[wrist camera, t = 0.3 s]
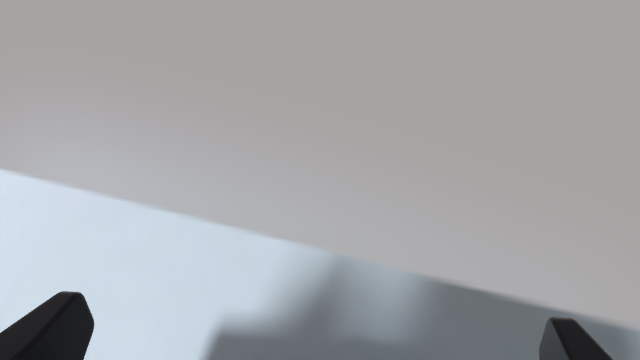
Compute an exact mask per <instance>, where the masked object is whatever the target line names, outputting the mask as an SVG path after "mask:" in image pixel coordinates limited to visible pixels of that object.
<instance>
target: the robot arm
mask: <svg viewBox="0 0 640 360" xmlns="http://www.w3.org/2000/svg"><path fill="white" fill-rule="evenodd" d="M93 329H94V319H93V317H92V314H91V312H90V309H89V307H88V305H87V302H86V300H85V297H84V296H83V295H82V294H81V293H79V292H66V291H63V292H59V293H57V294H56V295H54V296H53V297H51V298H50V299H49V300H47V301H46V302H44V303H43V304H41V305H40V306H38V307H37V308H36V309H34V310H33V311H31V312H30V313H28V314H27V315H25V316H24V317H23V318H21V319H20V320H18V321H17V322H15V323H14V324H12V325H11V326H10V327H8V328H7V329H5V330H4V331H2V332H1V333H0V360H83V359H84V356H85V353H86V351H87V348H88V345H89V342H90V339H91V336H92V333H93ZM539 357H540V360H613V359H612V358H611V357H610V356H609V355H608V354H607V353H606V352H605V351H604V350H603V349H602V348H601V347H600V346H599V345H598V344H597V342H596V341H595V340H594V339H593V338H592V337H591V336H590V335H589V334H588V333H587V332H586V331H585V330H584V329H583V328H582V327H581V326H580V325H579V324H578V323H577V322H576V321H575V320H573V319H571V318H556V317H552V318H550V319H549V320H548V321H547V324H546V327H545V330H544V334H543V337H542V341H541V344H540V349H539Z"/></svg>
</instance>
